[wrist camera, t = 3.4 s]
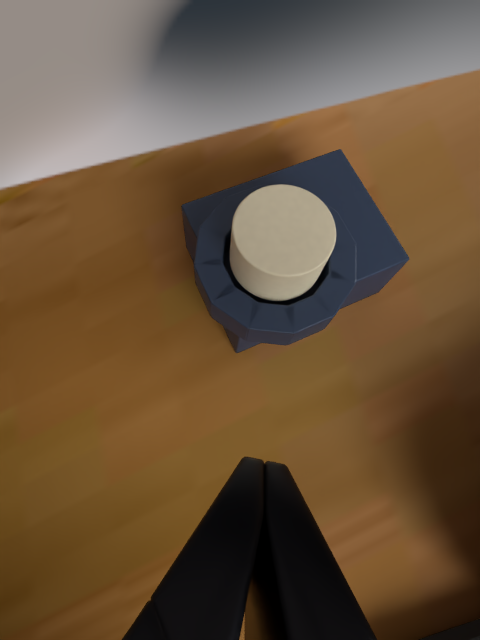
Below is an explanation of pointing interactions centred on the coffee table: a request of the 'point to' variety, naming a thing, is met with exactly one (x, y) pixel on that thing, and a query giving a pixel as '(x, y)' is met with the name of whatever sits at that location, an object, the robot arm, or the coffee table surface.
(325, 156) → the button base
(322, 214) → the disc
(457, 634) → the remote control
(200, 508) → the coffee table surface
